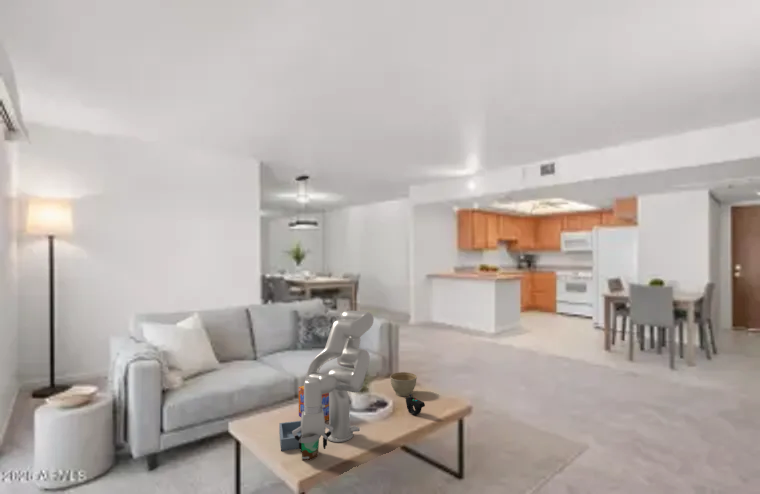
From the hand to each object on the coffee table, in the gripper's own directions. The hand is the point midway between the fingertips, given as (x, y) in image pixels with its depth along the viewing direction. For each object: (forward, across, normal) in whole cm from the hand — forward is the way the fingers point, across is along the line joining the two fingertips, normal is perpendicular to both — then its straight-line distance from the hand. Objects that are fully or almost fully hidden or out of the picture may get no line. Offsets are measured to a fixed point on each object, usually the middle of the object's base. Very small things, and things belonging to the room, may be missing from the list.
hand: (313, 449), depth 176 cm
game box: (+3, -8, -42) cm, 43 cm away
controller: (+3, -57, -29) cm, 64 cm away
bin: (+3, +7, -17) cm, 19 cm away
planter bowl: (+3, -62, -61) cm, 87 cm away
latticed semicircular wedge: (+3, 0, 0) cm, 3 cm away
